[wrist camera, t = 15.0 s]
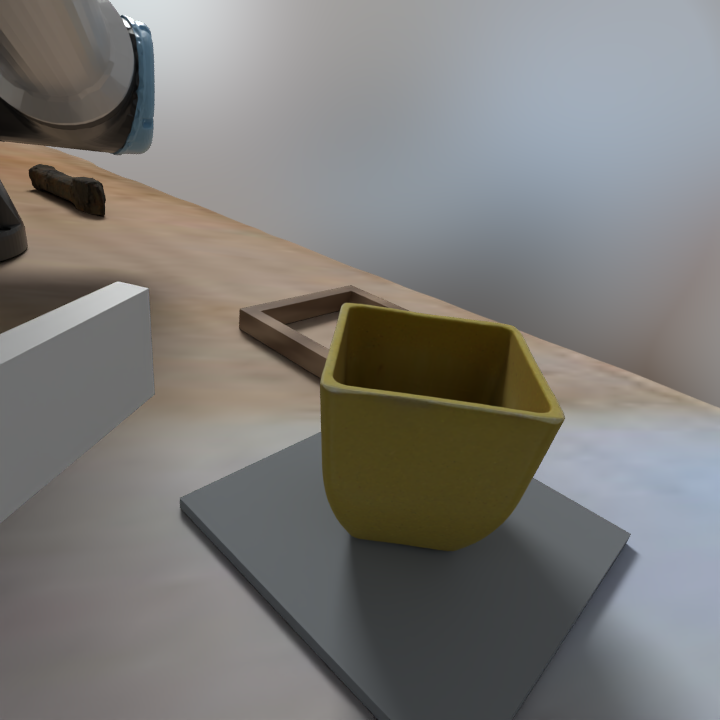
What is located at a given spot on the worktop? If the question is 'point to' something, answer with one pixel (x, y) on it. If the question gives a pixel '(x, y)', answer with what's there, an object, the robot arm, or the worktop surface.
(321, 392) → the flower pot
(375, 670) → the mat
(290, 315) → the square wooden frame
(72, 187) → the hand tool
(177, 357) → the worktop surface
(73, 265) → the worktop surface
